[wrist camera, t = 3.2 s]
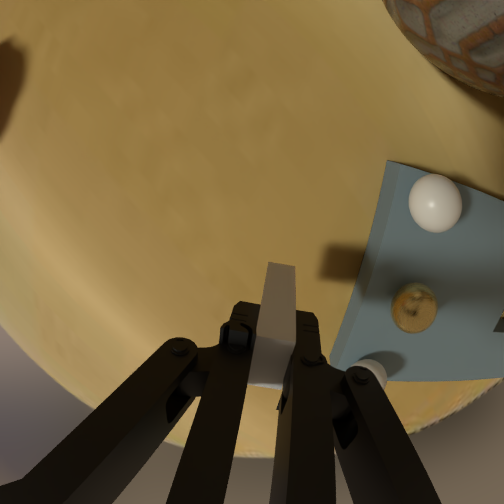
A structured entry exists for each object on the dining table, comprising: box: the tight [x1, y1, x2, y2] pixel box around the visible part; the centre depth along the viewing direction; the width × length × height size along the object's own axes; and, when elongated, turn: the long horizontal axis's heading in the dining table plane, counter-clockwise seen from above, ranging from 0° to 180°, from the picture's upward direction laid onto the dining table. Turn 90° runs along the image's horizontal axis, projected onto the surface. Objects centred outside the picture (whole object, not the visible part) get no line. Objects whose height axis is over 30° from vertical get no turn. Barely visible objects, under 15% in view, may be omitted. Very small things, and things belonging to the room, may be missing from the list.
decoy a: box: [409, 174, 462, 233], centre depth 13 cm, size 3×3×3 cm
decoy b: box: [351, 359, 387, 390], centre depth 18 cm, size 3×3×3 cm
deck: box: [330, 160, 504, 381], centre depth 18 cm, size 16×22×2 cm
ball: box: [390, 282, 438, 334], centre depth 16 cm, size 3×3×3 cm
